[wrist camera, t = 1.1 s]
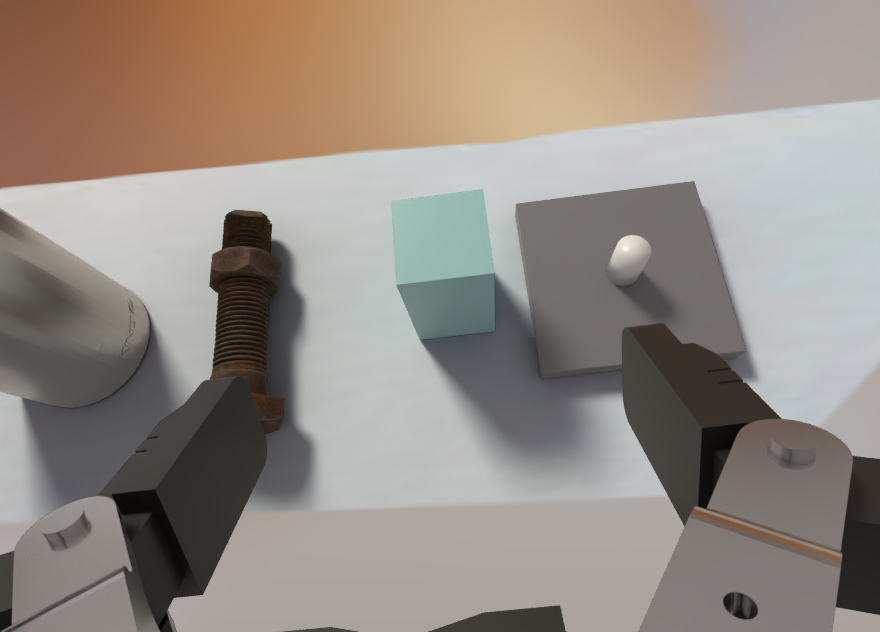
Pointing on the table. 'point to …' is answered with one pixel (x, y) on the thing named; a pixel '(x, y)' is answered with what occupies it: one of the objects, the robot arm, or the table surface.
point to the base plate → (601, 305)
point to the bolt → (246, 308)
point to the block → (445, 263)
